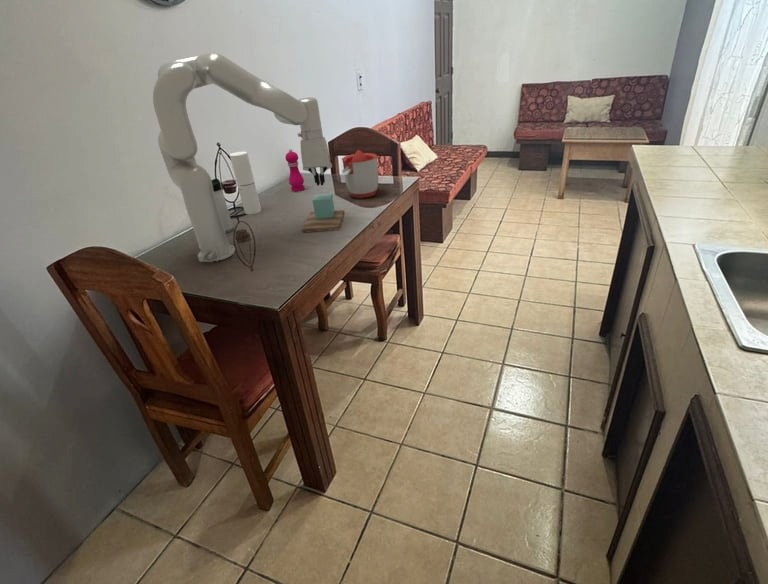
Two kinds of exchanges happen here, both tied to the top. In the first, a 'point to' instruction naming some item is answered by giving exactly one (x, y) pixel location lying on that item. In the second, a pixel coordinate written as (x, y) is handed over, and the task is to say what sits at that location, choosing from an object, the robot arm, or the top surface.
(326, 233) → the top surface
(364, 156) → the citrus juicer
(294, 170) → the pepper mill
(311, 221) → the board
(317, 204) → the mint green cube
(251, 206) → the cylindrical container
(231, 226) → the travel mug
